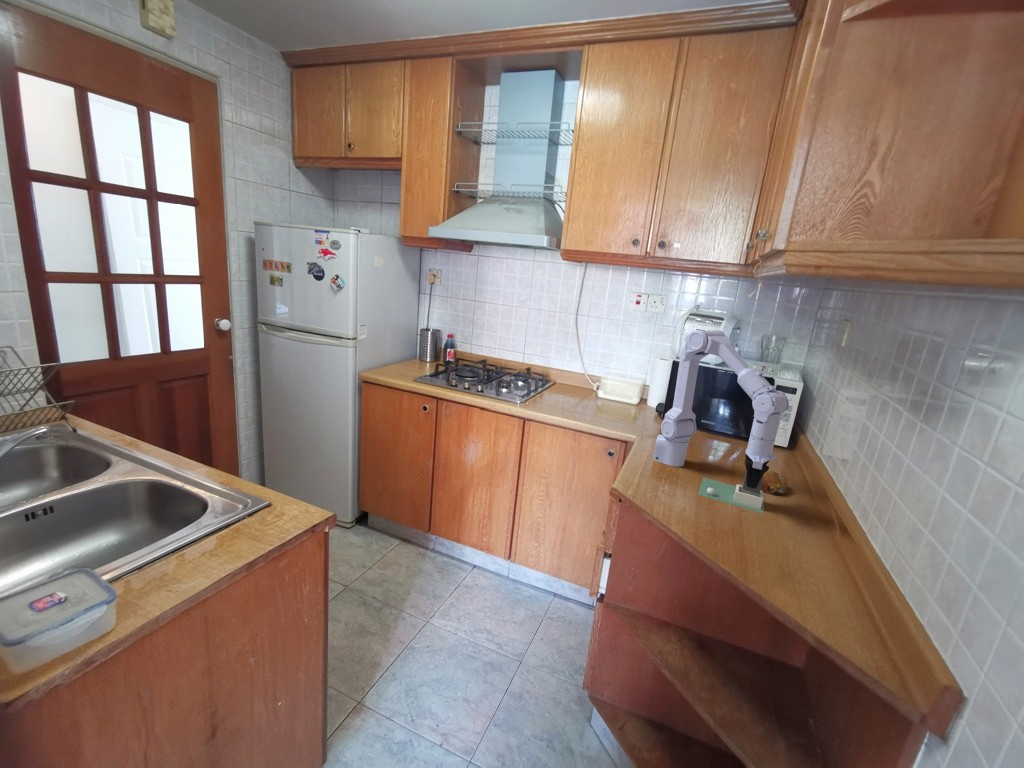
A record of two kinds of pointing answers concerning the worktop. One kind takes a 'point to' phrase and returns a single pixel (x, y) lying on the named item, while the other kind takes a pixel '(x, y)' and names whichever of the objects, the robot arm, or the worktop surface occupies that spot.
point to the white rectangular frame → (748, 497)
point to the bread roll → (773, 483)
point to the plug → (752, 488)
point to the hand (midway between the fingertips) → (751, 484)
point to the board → (723, 493)
